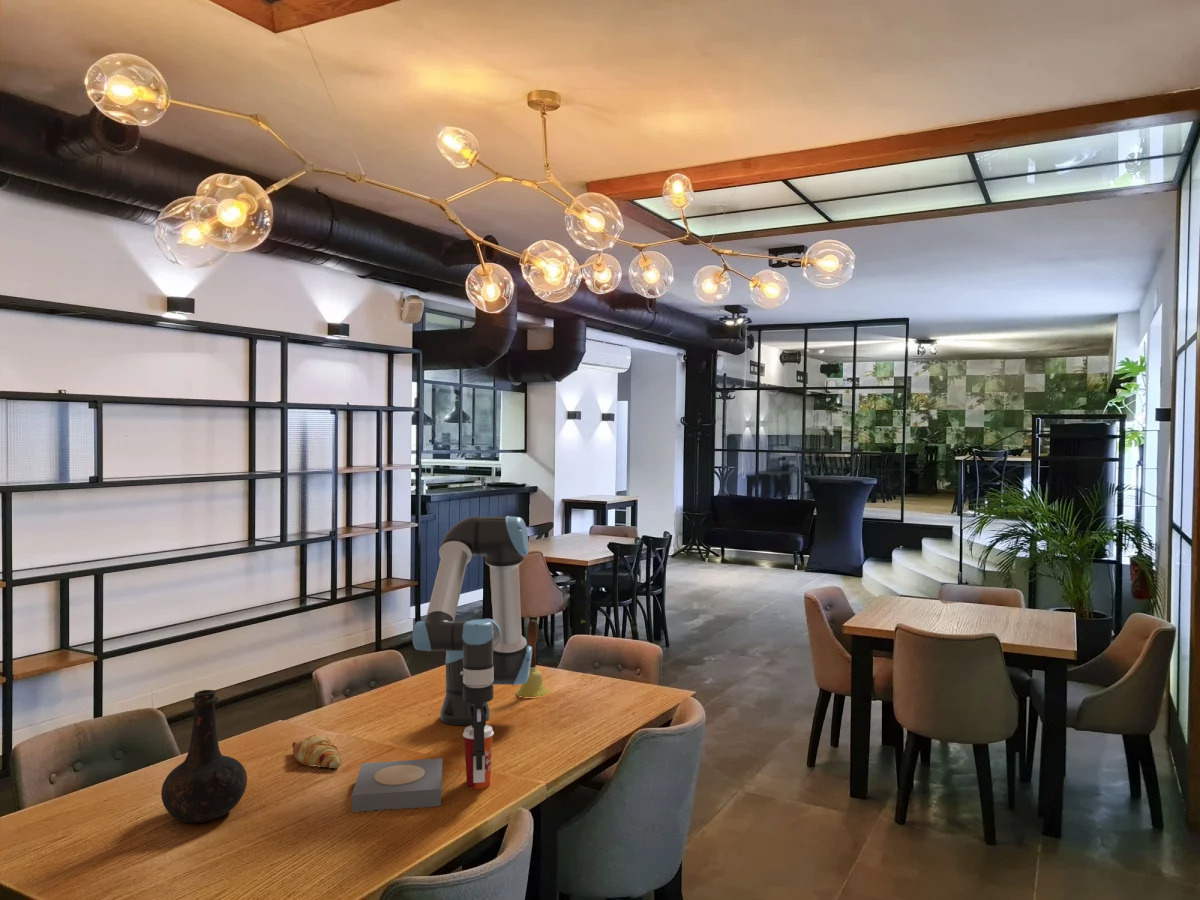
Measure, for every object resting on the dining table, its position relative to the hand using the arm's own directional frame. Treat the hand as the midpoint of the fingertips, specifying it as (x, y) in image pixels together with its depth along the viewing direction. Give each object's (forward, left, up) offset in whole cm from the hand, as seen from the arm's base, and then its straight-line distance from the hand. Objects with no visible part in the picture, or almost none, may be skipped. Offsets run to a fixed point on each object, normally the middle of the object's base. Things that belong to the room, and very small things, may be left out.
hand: (478, 773), depth 207 cm
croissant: (-24, -43, -3) cm, 49 cm away
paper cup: (0, 0, -3) cm, 3 cm away
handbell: (-77, +20, -3) cm, 80 cm away
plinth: (+1, -19, -3) cm, 19 cm away
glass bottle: (+6, -62, -3) cm, 62 cm away
